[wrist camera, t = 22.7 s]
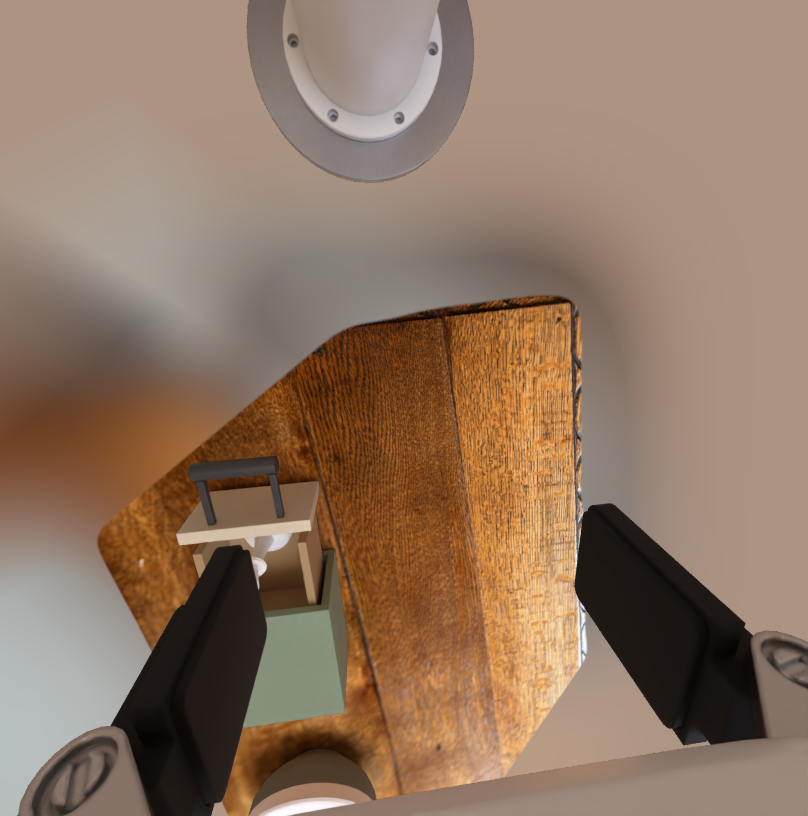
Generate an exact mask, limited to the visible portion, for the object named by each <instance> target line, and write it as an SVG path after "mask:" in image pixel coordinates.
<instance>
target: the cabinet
mask: <svg viewBox="0 0 808 816" xmlns="http://www.w3.org/2000/svg"><path fill="white" fill-rule="evenodd" d="M322 556H323V563H324V569H325V579H324V587H323V595H322V603H321V605H314V606H306V607H298V608H290V609H282V610H274V611H266V612H264V614H265V619H266V623H267V638H266V642H265V646H264V650H263V653H262V657H261V661H260V665H259V668H258V672H257V676H256V680H255V683H254V687H253V691H252V695H251V698H250V702H249V706H248V710H247V713H246V717H245V721H244V725H243V728H246V727H253V726H260V725H266V724H273V723H280V722H287V721H293V720H300V719H307V718H313V717H320V716H327V715H333V714H340V713H345V703H346V679H347V654H348V637H347V630H346V623H345V616H344V609H343V602H342V595H341V588H340V581H339V574H338V567H337V560H336V553H335V549H330V550H322Z"/></svg>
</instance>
